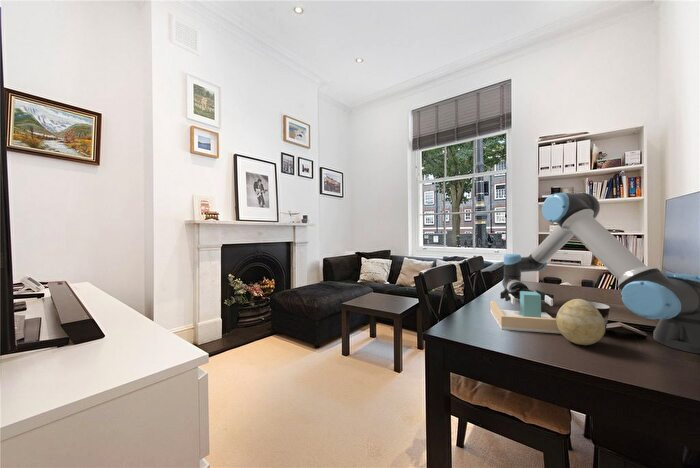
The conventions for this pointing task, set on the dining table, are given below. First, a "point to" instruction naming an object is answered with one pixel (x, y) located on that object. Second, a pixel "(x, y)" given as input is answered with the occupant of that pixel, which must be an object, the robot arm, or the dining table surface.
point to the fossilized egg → (580, 322)
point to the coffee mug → (602, 311)
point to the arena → (523, 321)
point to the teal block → (530, 304)
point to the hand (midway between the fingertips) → (532, 301)
